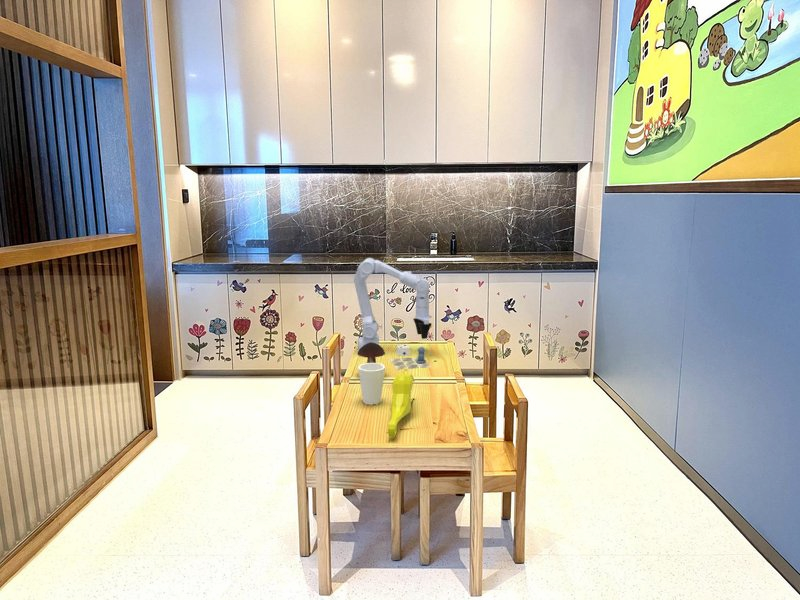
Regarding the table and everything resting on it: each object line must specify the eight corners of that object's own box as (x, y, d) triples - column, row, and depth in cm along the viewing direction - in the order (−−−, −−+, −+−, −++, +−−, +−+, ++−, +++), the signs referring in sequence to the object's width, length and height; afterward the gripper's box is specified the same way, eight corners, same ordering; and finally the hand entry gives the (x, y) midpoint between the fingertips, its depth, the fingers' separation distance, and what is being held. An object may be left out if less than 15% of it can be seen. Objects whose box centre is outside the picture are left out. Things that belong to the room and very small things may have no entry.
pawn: (417, 363, 242) (418, 348, 240) (415, 361, 245) (415, 346, 244) (426, 363, 243) (427, 348, 241) (424, 360, 246) (424, 345, 245)
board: (396, 372, 234) (396, 369, 234) (389, 361, 249) (389, 359, 248) (431, 369, 238) (431, 367, 237) (422, 359, 252) (422, 356, 252)
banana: (397, 422, 205) (379, 440, 171) (400, 366, 206) (382, 373, 172) (416, 423, 204) (402, 442, 170) (418, 367, 205) (404, 374, 171)
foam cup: (358, 397, 207) (358, 363, 205) (384, 396, 208) (384, 362, 205) (358, 407, 198) (358, 371, 195) (385, 406, 198) (385, 370, 196)
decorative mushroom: (388, 381, 223) (388, 345, 220) (361, 384, 220) (360, 347, 217) (380, 373, 233) (380, 337, 230) (354, 375, 230) (354, 340, 227)
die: (398, 359, 253) (398, 348, 252) (396, 355, 257) (396, 345, 256) (409, 358, 254) (409, 347, 253) (407, 355, 259) (407, 344, 258)
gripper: (435, 309, 244) (435, 339, 246) (426, 302, 258) (426, 331, 260) (419, 310, 242) (419, 340, 245) (411, 303, 256) (411, 332, 259)
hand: (422, 336), depth 252 cm, fingers open, 7 cm apart
